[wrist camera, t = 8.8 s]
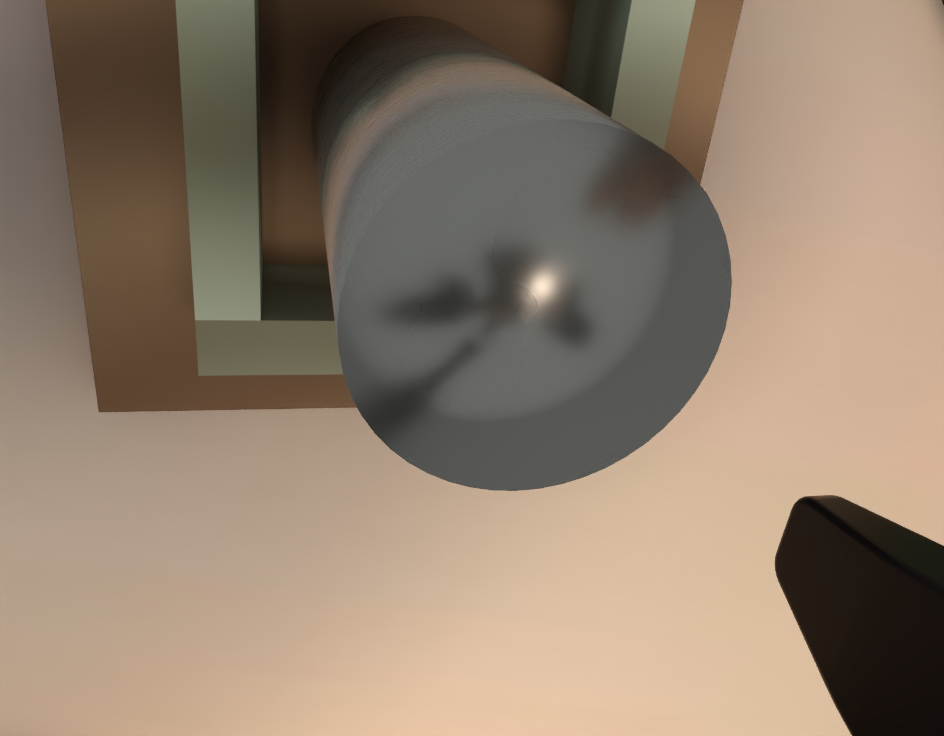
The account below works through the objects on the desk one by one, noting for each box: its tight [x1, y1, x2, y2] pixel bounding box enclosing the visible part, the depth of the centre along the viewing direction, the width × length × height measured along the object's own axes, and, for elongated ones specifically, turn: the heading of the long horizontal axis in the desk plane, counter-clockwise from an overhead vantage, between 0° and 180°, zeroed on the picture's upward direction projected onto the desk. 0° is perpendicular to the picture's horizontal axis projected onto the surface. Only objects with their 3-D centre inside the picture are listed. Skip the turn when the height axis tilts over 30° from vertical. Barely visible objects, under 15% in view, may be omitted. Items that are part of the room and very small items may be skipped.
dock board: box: [46, 0, 743, 412], centre depth 17 cm, size 14×14×4 cm
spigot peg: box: [312, 16, 732, 491], centre depth 13 cm, size 4×4×10 cm
